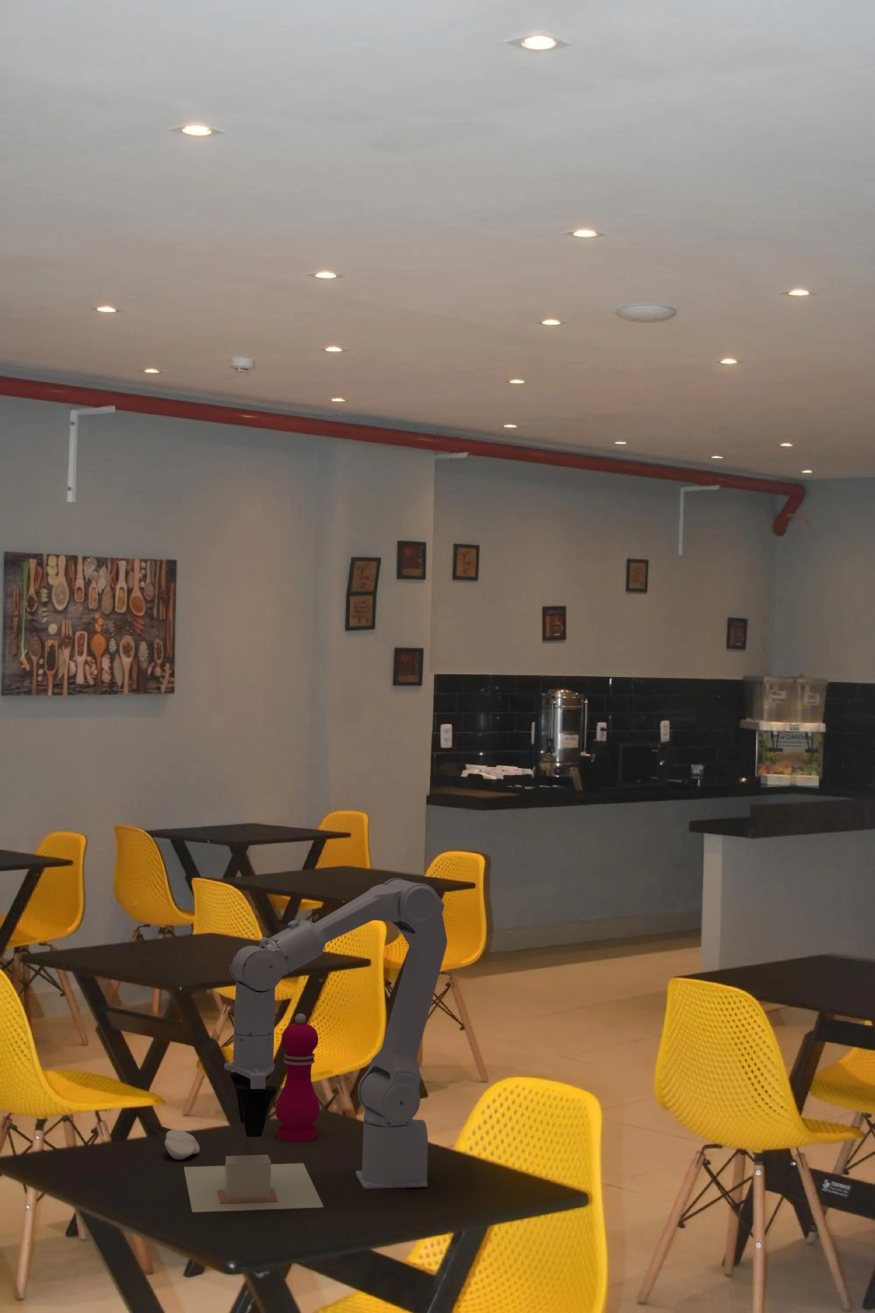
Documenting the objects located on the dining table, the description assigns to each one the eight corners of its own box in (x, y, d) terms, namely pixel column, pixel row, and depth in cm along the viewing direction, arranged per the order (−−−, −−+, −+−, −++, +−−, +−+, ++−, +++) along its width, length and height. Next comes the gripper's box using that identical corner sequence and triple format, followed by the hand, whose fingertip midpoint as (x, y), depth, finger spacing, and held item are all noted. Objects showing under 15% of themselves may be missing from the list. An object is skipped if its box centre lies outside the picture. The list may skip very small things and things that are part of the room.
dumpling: (169, 1152, 241) (170, 1126, 241) (202, 1153, 240) (203, 1127, 241) (159, 1165, 234) (160, 1138, 234) (194, 1166, 233) (195, 1139, 234)
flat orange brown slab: (273, 1189, 221) (273, 1188, 221) (278, 1202, 215) (278, 1200, 215) (217, 1191, 219) (217, 1190, 219) (220, 1204, 213) (220, 1203, 213)
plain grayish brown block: (224, 1192, 218) (225, 1156, 219) (266, 1190, 220) (267, 1155, 220) (226, 1200, 215) (228, 1164, 215) (269, 1198, 216) (271, 1162, 216)
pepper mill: (274, 1132, 254) (278, 1009, 255) (318, 1132, 255) (322, 1010, 256) (274, 1144, 247) (278, 1017, 248) (319, 1144, 248) (323, 1018, 249)
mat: (303, 1165, 235) (303, 1163, 235) (323, 1209, 213) (323, 1207, 213) (183, 1169, 231) (183, 1167, 231) (192, 1214, 210) (192, 1212, 210)
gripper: (221, 1023, 226) (218, 1117, 225) (230, 1043, 211) (227, 1143, 211) (269, 1022, 227) (266, 1116, 226) (281, 1042, 213) (278, 1142, 212)
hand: (251, 1129), depth 219 cm, fingers open, 7 cm apart
